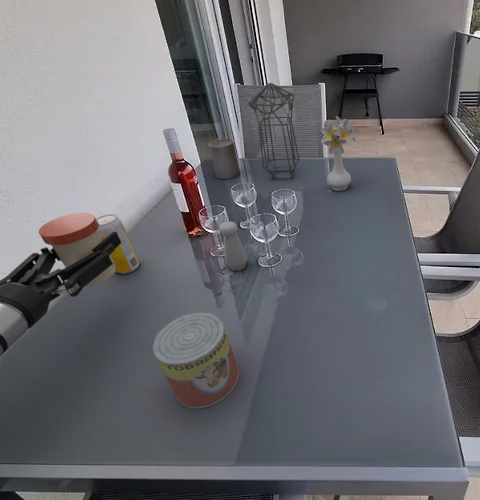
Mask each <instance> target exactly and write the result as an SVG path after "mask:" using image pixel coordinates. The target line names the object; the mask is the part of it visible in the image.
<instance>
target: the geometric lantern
mask: <svg viewBox="0 0 480 500" xmlns="http://www.w3.org/2000/svg"><path fill="white" fill-rule="evenodd" d="M264 92H265V95H263V94H264ZM285 93H286V94H285ZM268 94H269V96H268ZM275 94H277V96H275ZM295 96H296V95H295V94H294V93H292V92H290V91H288V90H286V89H284V88H282V87H281V86H278V85H277V84H274V83H273V82H266V84H264V86H263V87H262V88H261V90H260V91H259V92H257V94H255V96H254V97H252V98H251V99H250V100H249V101H248V102H247V105H248V106H249V107H250V108H251V109H252V110H254V114H255V118H256V121H257V123H258V124H257V125H258V134H259V135H258V136H259V144H260V154H261V162H262V170H263V171H265V172H267V173H269V174H270V175H271V178H272V179H273V180H278V179H279V180H281V179H282V180H283V179H284V180H287V179H289V180H290V179H293V178H294V176H295V170H296V169H297V167H298V165H299V163H300V155H299V150H298V146H297V145H298V144H297V140H296V139H297V138H296V134H295V130H294V125H293V108H294V100H295ZM260 98H261V99H262V100H263V101H262V103H258V100H259V99H260ZM272 99H273V102H272ZM276 99H280V103H279V102H278V103H276ZM266 102H268V103H269V104H265V103H266ZM285 105H288V113H287V111H286V109H285V108H284V106H285ZM258 106H261V107H262V110H261V109H260V108H258ZM275 106H278V107H277V108H275V109H274V107H275ZM265 107H270V111H268V112H266V111H265ZM281 108H282V110H283V111H284V112H285V114H286V116H278V115H277V114H276V112H277V111H278V110H280V109H281ZM257 111H258V112H259V113H260V114H261V115H262V119H261V120H259V117H258V113H257ZM271 114H273V115H274V116H273V117H272V116H271ZM266 115H268V116H267V117H266ZM270 119H277V121H278V122H279V123H280V124H277V123H276V124H275V123H274V124H271V120H270ZM281 119H286V121H285V123H283V121H282V120H281ZM266 120H267V121H268V122H267V123H268V124H266ZM272 126H273V127H274V126H275V127H276V126H277V127H278V126H281V129H282V136H283V141H284V147H285V153H286V158H285V157H284V158H283V157H282V158H275V152H274V144H273V136H272V129H271V127H272ZM284 126H286V131H287V136H288V141H289V146H290V151H291V157H289V152H288V146H287V145H288V144H287V140H286V139H287V138H286V134H285V129H284ZM262 127H264V133H265V141H264V134H263V128H262ZM267 127H268V129H269V137H270V144H271V151H272V157H273V158H271V159H270V153H269V151H270V150H269V144H268V143H269V142H268V133H267ZM265 144H266V145H265ZM265 146H266V147H265ZM295 150H296V153H295ZM296 156H297V158H296ZM264 160H265V161H264ZM285 160H286V161H287V163H288V164H287V165H283V166H277V164H276V161H285ZM290 160H292V162H291V163H290ZM272 161H273V163H274V165H273V163H272ZM264 164H265V165H264ZM269 164H270V165H271V166H272V167H273V169H269ZM277 168H278V169H277ZM279 168H288V169H279ZM277 172H278V173H277ZM279 172H280V173H279ZM276 175H289V177H276Z"/></svg>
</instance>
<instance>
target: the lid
mask: <svg viewBox="0 0 480 500" xmlns="http://www.w3.org/2000/svg"><path fill="white" fill-rule="evenodd" d="M96 218H97V217H95V215H94V214H93V213H90V212H76V213H75V212H74V213H70V214H66V215H62V216H60V217H56V218H54V219H51V220H49V221H48V222H46V223H44V224H43V225H42V226H40V228H39V229H38V235H39V236H40V237H41V239H42V241H43V242H44V243H45V244H46V245H48V246H51V245H64V244H69V243H73V242H76V241H79V240H82V239H84V238H86V237H88V236H90V235H91V234H93V233H94V232H95V231H96V230H97V229H98V227H99V224H98V222H97V220H96Z"/></svg>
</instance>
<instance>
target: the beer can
mask: <svg viewBox="0 0 480 500" xmlns="http://www.w3.org/2000/svg"><path fill="white" fill-rule="evenodd" d="M95 218H96V220H97V222H98V224H99V227H98V229H97V231H98V233H99V235H100V237H101V238H102V240H104V239H105V238H106V237H108V236H109V235H110V234H111V233H112V232H117V234H118V236H119V238H120V241H121V244H120V245H119V246H118V247H117V248H115V251H114V252H113V253H111V254H110V256H111V258H112V260H113V262H114V264H115V266H116V271H115V273H119V274H120V275H126V274H130V273H132V272H134V271H136V270H137V269H138V268H139V265H140V260H139V259H140V258H139V257H138V255H137V253H136V251H135V248H134V246H133V244H132V242H131V239H130V238H129V237H130V236H129V235H128V232H127V231H126V228H125V226H124V223H123V222H122V219H121V218H120V217H119V216H118V215H116V214H114V213H111V214H109V213H108V214H103V215H100V216H98V217H95Z"/></svg>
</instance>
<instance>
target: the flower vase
mask: <svg viewBox="0 0 480 500" xmlns="http://www.w3.org/2000/svg"><path fill="white" fill-rule="evenodd" d="M335 119H336V122H335V123H333V122H332V121H331V122H330V119H328V120H326V119H325V120H324V123H323V127H322V128H320V131H319V135H321V136H320V137H319V140H321V141H320V143H321V144H323V145H324V146H327V147H329V149H328V154H329V155H333V165H332V169H331V171H330V172H329V173H328V174H327V176H326V183H327V185H328V186H329V187H331V190H333V191H334V192H335V191H336V192H343V191H345V190H347V189H348V187H349V186H350V185H351V183H352V175H351V174H350V173H349V172H348V171H347V170H346V168H345V165H344V161H343V154H344V153H345V149H344V148H343V145H345V144H347V145H348V146H349V147H352V144H353V143H352V140H353V142H354V143H356V141H357V138H356V136H357V133H356V132H355V126H353V125H352V124H353V122H352V119H351V120H350V123H349V120H348V119H347V118H344V119H342V120H341V117H339V116H338V115H335ZM339 134H340V135H339Z"/></svg>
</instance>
